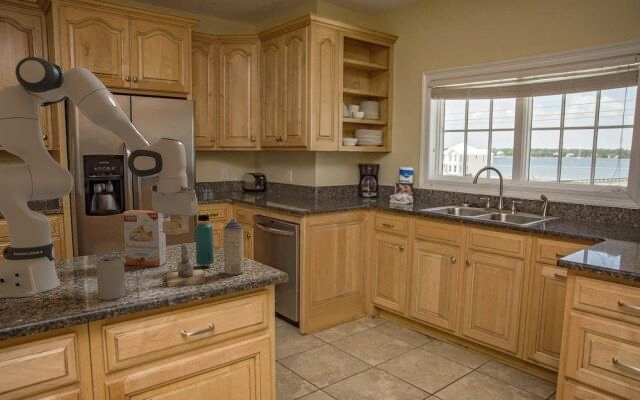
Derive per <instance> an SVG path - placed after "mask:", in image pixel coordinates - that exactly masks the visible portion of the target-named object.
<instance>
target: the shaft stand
mask: <svg viewBox="0 0 640 400" xmlns="http://www.w3.org/2000/svg"><path fill="white" fill-rule="evenodd" d="M180 251H181V253H180V254H181V256H180V257H181V258H180V260H181V261H178V262H177V271H170V272H166V281H167V282H166V283H167V287H168V288H169V287H179V286H188V285H189V286H190V285H199V284H206V283H207V281H206V279H207V278H206V277H205V273H204V271H203V269H194V262H193V261H192V260H190V252H189V244H181V245H180Z"/></svg>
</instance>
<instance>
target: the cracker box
mask: <svg viewBox="0 0 640 400" xmlns="http://www.w3.org/2000/svg"><path fill="white" fill-rule="evenodd" d="M122 216H123V232H124V235H123V236H124V255H125V266H142V267H143V266H144V267H161V266H163V265H165V264H166V263H167V245H166V244H167V241H166V234H165V233H163V226H162V221H164V219H163V216H162V214H161V213H154V211H153V210H146V209H145V210H144V209H143V210H142V209H141V210H139V209H138V210H137V209H130V210H126V211H123V215H122Z"/></svg>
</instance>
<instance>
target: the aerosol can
mask: <svg viewBox="0 0 640 400" xmlns="http://www.w3.org/2000/svg"><path fill="white" fill-rule="evenodd" d="M223 254H224V255H223V256H224V257H223V258H224V259H223V262H224V268H223V269H224V275H226V276H231V277H232V276H233V277H234V276H235V277H236V276H240V275H243V274H244V272H245V271H244V270H245V268H244V267H245V265H244V263H245V262H244V261H245V260H244V256H245V255H244V254H245V253H244V227H243V225H241V224H240V223H239V221H237V218H236V217H231V218H230V221H229V222H228V223H227V224H226V225H225V226H224V227H223Z"/></svg>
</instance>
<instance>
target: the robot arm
mask: <svg viewBox="0 0 640 400" xmlns="http://www.w3.org/2000/svg"><path fill="white" fill-rule="evenodd" d="M15 77H16V80H17V81H18V84H17V85H9V86H5V87H3V88H1V89H0V145H1V147H2V149H3V150H5V152H7V153H8V154H12V155H14V156H17V157H19V158H20V159H22V160H23V161H24V163H25V165H7V166H6V165H2V166H0V213H1V214H2V216H3V218H4V219H5V222H6V225H7V231H8V237H9V244H7V245H6V246H5V247H4V248H3V249H2V251H1V255H2V257H3V259H1V260H0V298H1V299H3V298H6V299H7V298H23V297H24V298H25V297H31V296H35V295H37V294H39V293H43V292H47V291H50V290H51V291H52V290H53V289H56V288H58V287H59V286H60V285H61V282H60V279H59V277H58V273H57V270H56V267H55V266H56V265H55V258H56V257H55V255H56V254H55V246H54V242H53V241H52V227H51V224H52V223H51V220H50V218H49V217H48V216H47V215H45V214H44V213H41V212H39V211H36V210H32V209H30V207H29V205H28V202H31V201H43V200H44V201H46V200H54V199H60V198H62V197H63V198H64V197H66V196H68V195H69V194H70V193H71V191H72V190H73V188H74V187H73V186H74V178H73V175H72V173H71V172H70V171H69V169H67V167H65V166H63V165H62V164H60V163H59V162H57V160H55V159H54V157H52V156H51V154H50V153H49V151H48V149H47V148H46V145H45V142H44V136H43V131H42V124H41V117H40V116H41V115H40V108H41V107H43V108H45V107H48V106H51V105H55V104H60V103H61V102H63V101H65V100H66V99H67V98H68V99H69V100H70V101H71V102H72V103H73V104H74V105H75V107H76V108H77V109H78V110H79V112H80V113H81V115H84V117H85V118H86V119H87V120H89V122H91V123H92V124H93V125H95V126H97V127H100V128H102V129H105V130H107V131H109V132H111V133H112V134H114V135H116V136H117V137H118V138H120V140H121V141H122V142H123V143H124V144H125V145H126V147H128V148H129V150H130V151H131V153H130V154H129V156H128V158H127V168H128V169H129V171H130V173H132V175H134V176H136V177H138V178H142V179H143V178H144V179H145V178H149V179H150V178H151V179H152V178H153V179H158V178H159V181H158V182H157V183H154V184H153V185H150V192H151V193H152V194H151V207H152V211H154V213H161V214H162V216H163V219H164V221H169V220H171V215H174V216H180V219H181V220H182V221H181V223H179V227H180V228H181V229H185V228H186V227H187V225H186V223H187V221H188V220H189V217H191V216H197V215H198V214H199V211H200V210H199V203H198V197H197V194H196V191H195V190H194V189H193V187H189V186H188V174H187V172H186V171H187V170H186V169H187V165H188V163H187V153H186V149H185V148H186V147H185V145H184V143H183V142H182V141H181V140H179V139H174V138H169V137H161V138H159V139H158V140H156V141H155V142H153V143H152V144H151V143H150V142H149V141H148V140H147V139H146V138H145V137H144V136H143V134H142V133H141V132H140V131H139V129H138V128H136V126H135V125H134V124H133V122H131V121H130V119H129V117H128V116H127V115H126V113H125V112H124V110H123V109H122V107H121V106H120V104H119V103H118V101H117V100H116V99H115V97H114V96H113V94H112V93H111V91H110V90H109V89H108V88H107V87H106V86H105V85H104V83H103V82H102V81H101V80H100V79H99V78H98V77H97V76H96V75H95V74H94V73H93V72H92V71H90V70H89V69H87V67H86V68H85V67H83V66H75V67H71V68H69V69H68V70H63V69H62V67H61V66H60V65H57V64H56V63H53V62H52V61H49V60H47V59H44V58H42V57H38V56H28V57H25V58H22V59H21V60H20V61H18V63H17V65H16V66H15Z"/></svg>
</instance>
